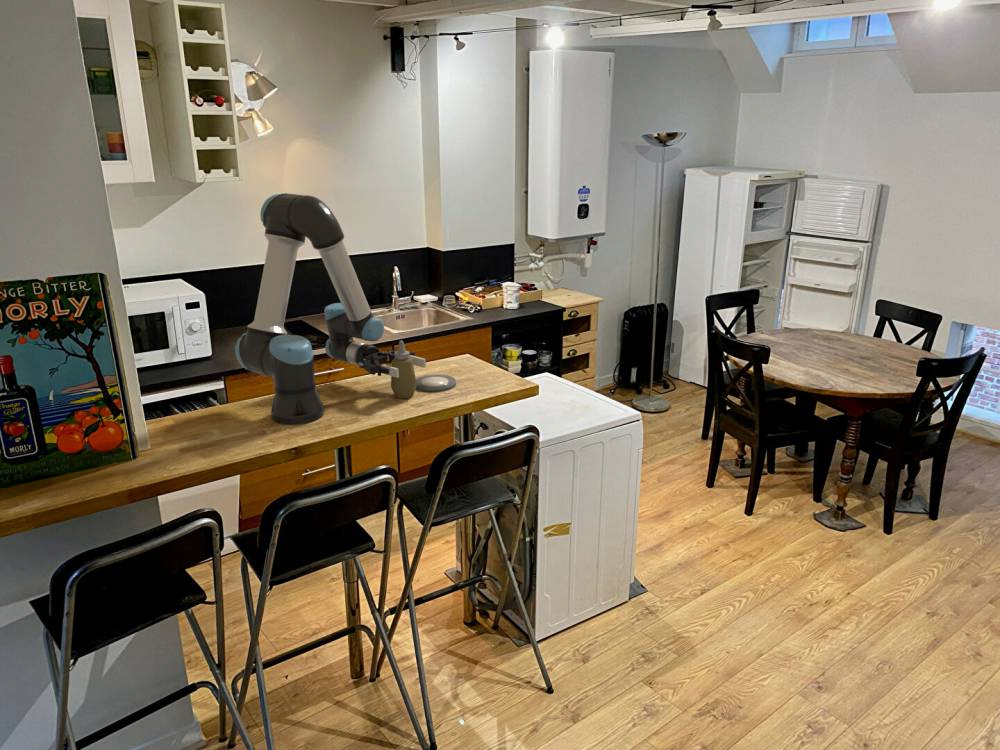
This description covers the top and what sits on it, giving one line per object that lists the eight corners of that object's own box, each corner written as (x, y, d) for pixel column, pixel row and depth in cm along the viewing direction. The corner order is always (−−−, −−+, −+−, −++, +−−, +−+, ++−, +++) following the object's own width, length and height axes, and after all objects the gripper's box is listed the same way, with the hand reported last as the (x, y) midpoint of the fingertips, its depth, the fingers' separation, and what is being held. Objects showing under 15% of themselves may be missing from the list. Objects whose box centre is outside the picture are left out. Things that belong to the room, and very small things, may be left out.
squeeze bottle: (418, 391, 242) (416, 337, 236) (415, 400, 235) (412, 344, 229) (393, 391, 242) (390, 337, 237) (389, 400, 235) (385, 345, 229)
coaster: (405, 388, 245) (405, 385, 245) (426, 375, 257) (426, 372, 257) (444, 394, 240) (443, 390, 239) (463, 380, 252) (463, 377, 251)
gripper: (390, 357, 256) (438, 369, 243) (336, 375, 238) (384, 390, 226) (389, 335, 253) (437, 347, 240) (334, 352, 236) (382, 366, 223)
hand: (411, 368), depth 233 cm, fingers open, 11 cm apart
